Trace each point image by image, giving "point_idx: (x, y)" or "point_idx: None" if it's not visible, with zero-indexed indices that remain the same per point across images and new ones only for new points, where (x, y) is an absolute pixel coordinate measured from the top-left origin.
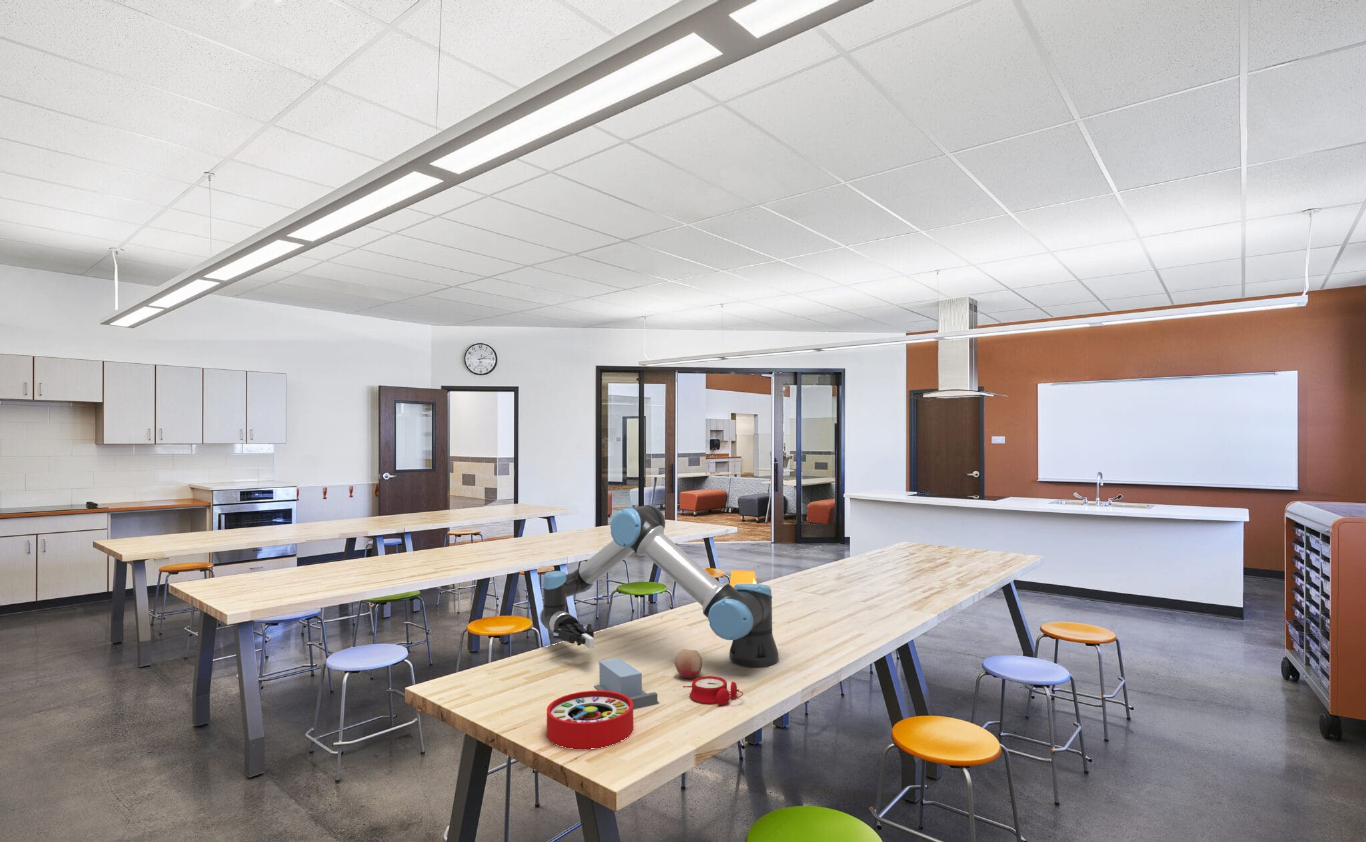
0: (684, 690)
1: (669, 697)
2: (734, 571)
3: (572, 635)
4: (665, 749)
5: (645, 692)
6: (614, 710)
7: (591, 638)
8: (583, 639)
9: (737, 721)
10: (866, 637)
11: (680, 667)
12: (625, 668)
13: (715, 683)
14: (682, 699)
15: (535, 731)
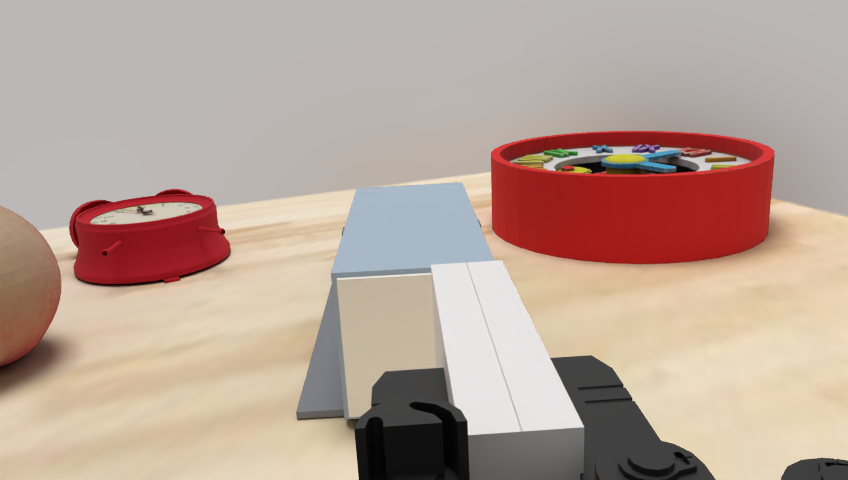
0: (167, 296)
1: (270, 278)
2: None
3: (838, 464)
4: (466, 183)
5: (327, 302)
6: (550, 164)
7: (465, 271)
8: (570, 363)
9: (242, 204)
10: None
11: (60, 276)
12: (392, 210)
13: (130, 213)
14: (245, 265)
15: (813, 236)
